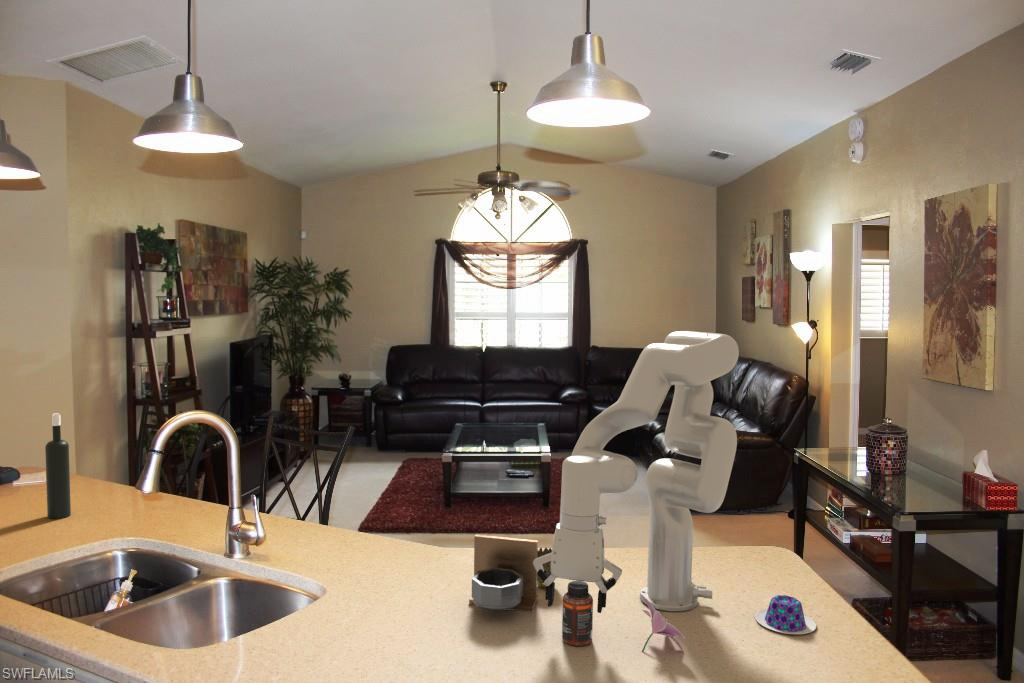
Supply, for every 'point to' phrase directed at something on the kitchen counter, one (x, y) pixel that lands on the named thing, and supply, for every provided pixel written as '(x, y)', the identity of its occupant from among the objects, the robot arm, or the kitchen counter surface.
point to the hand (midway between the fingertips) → (575, 607)
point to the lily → (661, 625)
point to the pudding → (785, 616)
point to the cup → (544, 566)
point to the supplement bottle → (577, 614)
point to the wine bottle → (57, 473)
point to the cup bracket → (504, 573)
